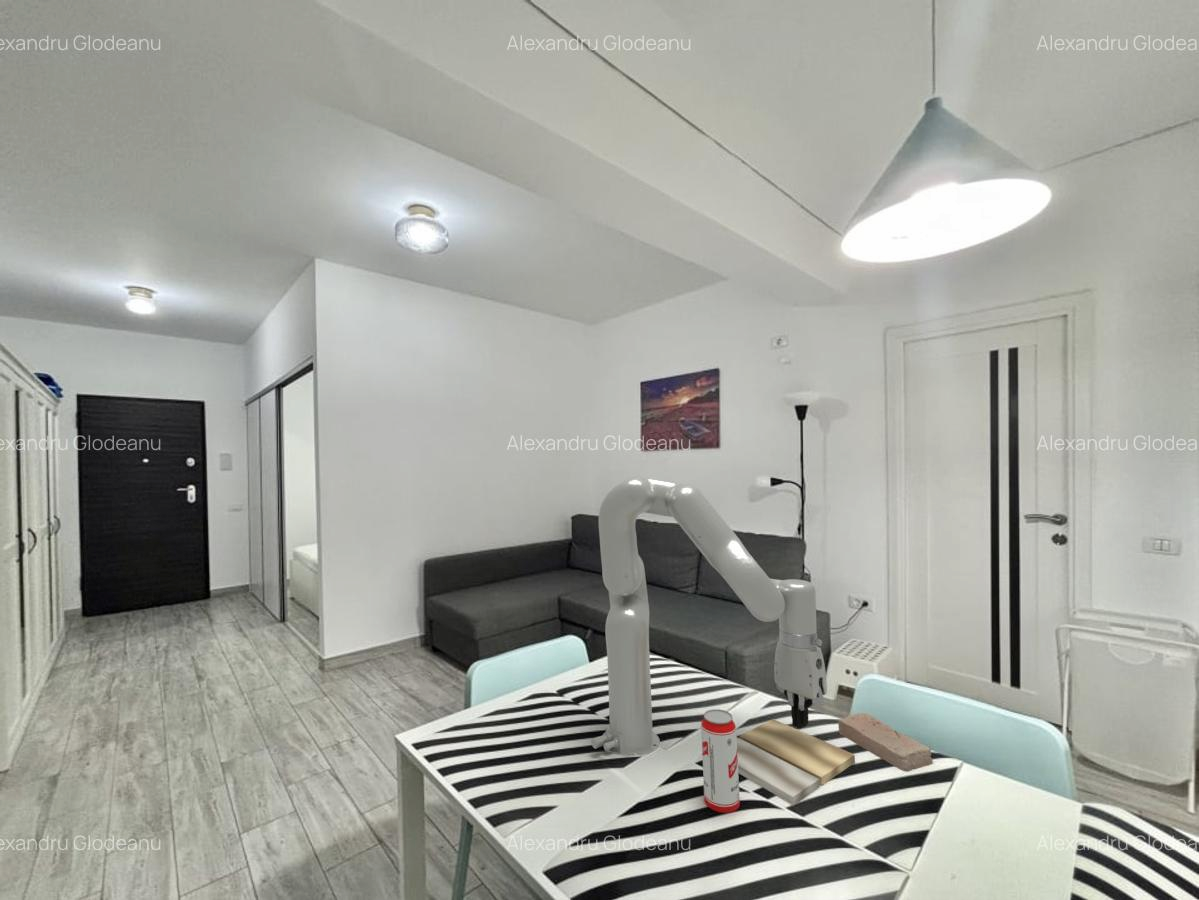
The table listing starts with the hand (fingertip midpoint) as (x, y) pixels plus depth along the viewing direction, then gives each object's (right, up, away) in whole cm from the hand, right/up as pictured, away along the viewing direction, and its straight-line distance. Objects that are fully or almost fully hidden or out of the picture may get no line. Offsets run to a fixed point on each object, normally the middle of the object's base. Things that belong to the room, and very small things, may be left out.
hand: (800, 725), depth 106 cm
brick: (+17, -5, -1) cm, 18 cm away
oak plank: (-2, -4, -2) cm, 5 cm away
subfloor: (-5, -5, -5) cm, 9 cm away
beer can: (-21, -5, -17) cm, 28 cm away
